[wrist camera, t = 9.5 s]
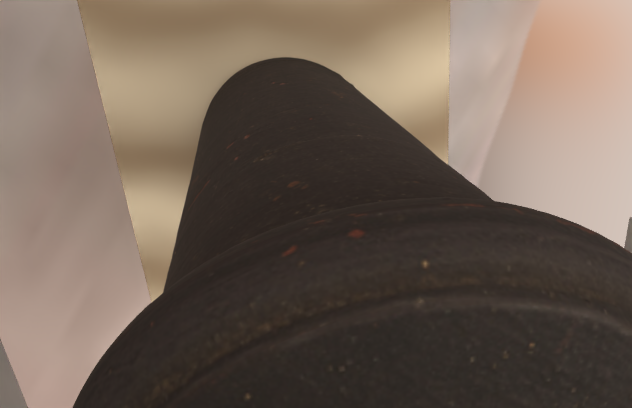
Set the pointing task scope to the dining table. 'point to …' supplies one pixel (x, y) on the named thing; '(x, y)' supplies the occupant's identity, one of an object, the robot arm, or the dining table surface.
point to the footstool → (230, 57)
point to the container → (363, 274)
